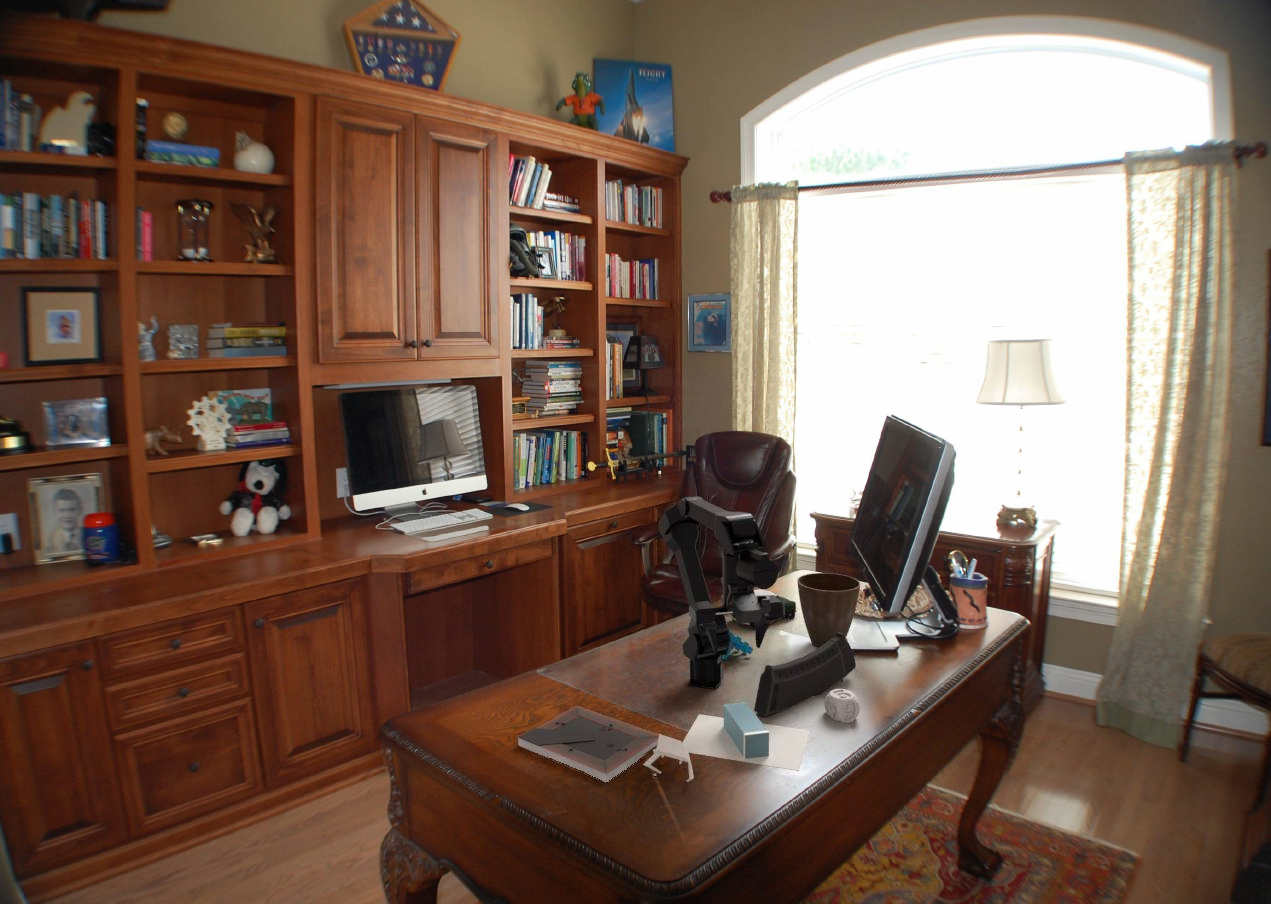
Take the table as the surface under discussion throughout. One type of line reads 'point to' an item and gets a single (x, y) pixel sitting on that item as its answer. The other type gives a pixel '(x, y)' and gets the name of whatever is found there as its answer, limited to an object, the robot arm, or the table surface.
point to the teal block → (746, 730)
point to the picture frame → (590, 742)
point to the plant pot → (827, 604)
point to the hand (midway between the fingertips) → (736, 649)
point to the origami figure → (670, 753)
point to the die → (842, 705)
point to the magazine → (804, 676)
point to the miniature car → (789, 605)
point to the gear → (738, 645)
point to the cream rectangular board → (717, 742)
